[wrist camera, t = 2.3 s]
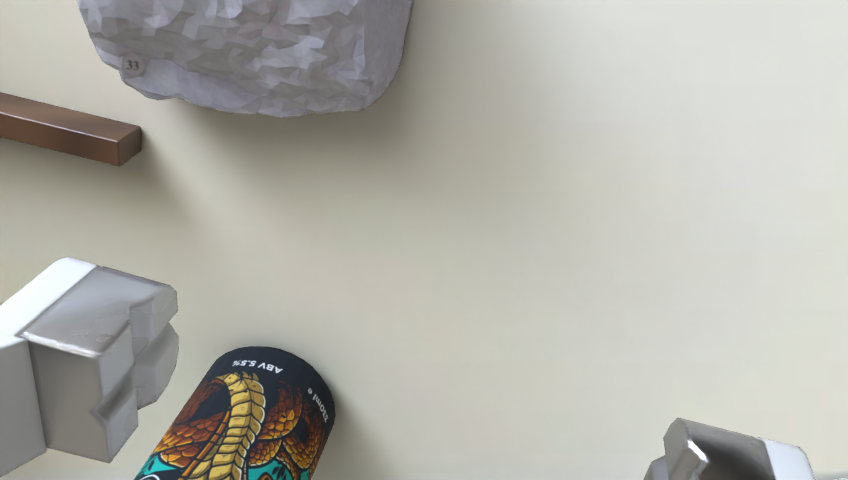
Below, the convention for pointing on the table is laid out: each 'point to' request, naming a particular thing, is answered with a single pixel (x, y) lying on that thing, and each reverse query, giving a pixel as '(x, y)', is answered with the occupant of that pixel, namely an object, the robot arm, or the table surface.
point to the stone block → (253, 51)
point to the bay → (68, 130)
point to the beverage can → (248, 422)
